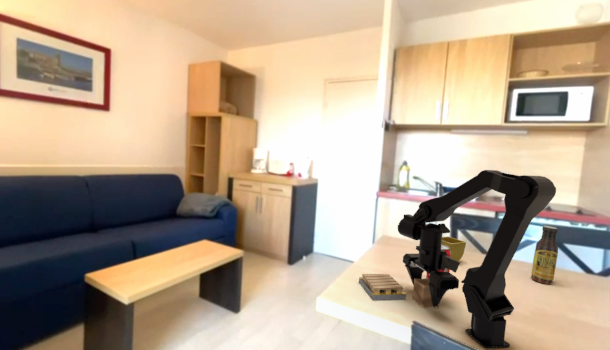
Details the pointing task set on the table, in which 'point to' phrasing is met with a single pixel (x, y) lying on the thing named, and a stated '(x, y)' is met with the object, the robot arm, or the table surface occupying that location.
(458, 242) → the flower pot
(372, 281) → the pallet
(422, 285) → the crate
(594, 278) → the table surface
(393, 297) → the dock
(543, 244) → the sauce bottle
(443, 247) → the soda can
